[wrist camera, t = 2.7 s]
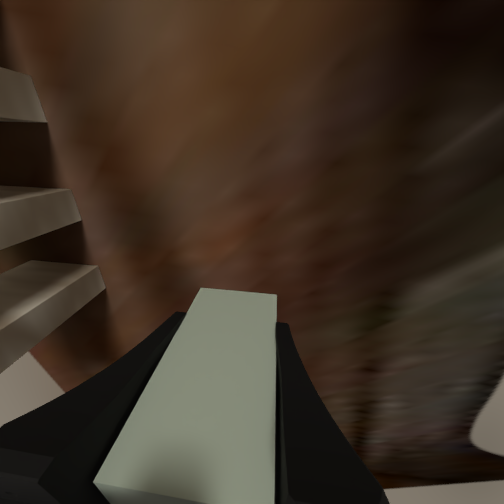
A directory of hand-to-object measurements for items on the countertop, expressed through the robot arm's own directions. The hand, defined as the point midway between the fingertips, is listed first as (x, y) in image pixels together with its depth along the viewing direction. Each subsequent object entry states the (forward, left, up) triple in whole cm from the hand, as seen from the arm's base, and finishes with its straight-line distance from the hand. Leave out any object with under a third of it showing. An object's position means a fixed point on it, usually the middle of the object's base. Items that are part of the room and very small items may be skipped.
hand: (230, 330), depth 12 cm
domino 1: (0, 0, -2) cm, 2 cm away
